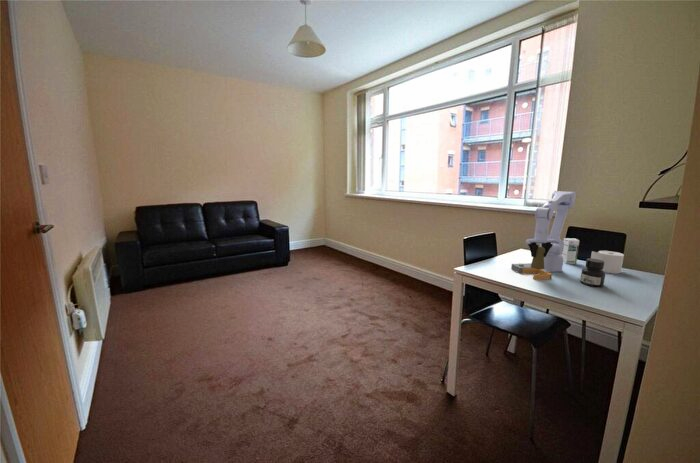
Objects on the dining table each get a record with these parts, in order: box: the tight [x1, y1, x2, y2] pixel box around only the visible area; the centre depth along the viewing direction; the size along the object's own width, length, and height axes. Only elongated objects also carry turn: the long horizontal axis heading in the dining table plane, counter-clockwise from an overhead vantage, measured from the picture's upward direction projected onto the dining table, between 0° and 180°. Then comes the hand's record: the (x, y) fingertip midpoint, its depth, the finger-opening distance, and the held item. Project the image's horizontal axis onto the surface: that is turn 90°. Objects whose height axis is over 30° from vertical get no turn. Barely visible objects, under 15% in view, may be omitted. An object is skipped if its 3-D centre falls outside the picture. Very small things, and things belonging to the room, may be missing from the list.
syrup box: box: [561, 237, 580, 265], centre depth 177 cm, size 6×6×14 cm
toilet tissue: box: [590, 250, 625, 274], centre depth 163 cm, size 11×12×10 cm
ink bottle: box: [579, 257, 606, 288], centre depth 143 cm, size 10×9×12 cm
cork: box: [531, 246, 545, 269], centre depth 153 cm, size 6×6×11 cm
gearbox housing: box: [510, 262, 553, 280], centre depth 158 cm, size 12×17×4 cm
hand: (538, 256), depth 153 cm, fingers closed on cork, 5 cm apart
